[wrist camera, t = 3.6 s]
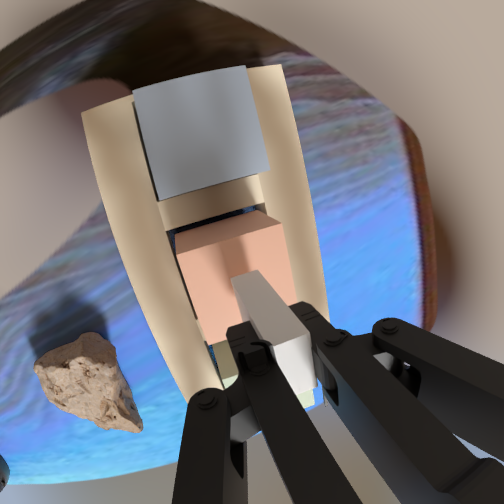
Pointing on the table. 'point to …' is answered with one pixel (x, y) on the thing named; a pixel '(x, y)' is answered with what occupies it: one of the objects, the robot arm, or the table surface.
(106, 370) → the stone
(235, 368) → the sage block
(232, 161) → the slate block
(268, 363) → the robot arm
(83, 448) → the table surface
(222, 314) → the terracotta block
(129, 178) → the socket board
